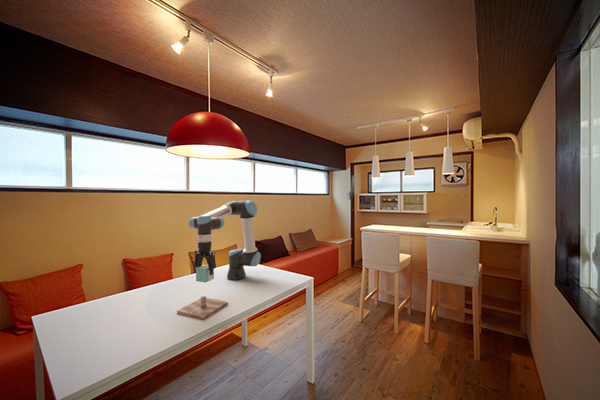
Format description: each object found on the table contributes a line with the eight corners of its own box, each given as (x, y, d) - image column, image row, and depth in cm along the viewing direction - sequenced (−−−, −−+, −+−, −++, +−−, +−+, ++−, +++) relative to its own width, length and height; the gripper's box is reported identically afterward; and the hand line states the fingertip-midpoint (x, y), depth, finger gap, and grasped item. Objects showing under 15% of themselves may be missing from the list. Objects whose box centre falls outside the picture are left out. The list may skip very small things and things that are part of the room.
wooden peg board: (203, 299, 155) (203, 288, 155) (228, 304, 148) (227, 293, 148) (176, 313, 137) (176, 301, 137) (203, 319, 129) (203, 307, 129)
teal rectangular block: (204, 277, 147) (204, 263, 147) (213, 278, 144) (213, 264, 144) (196, 281, 140) (195, 266, 140) (205, 282, 138) (205, 267, 138)
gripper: (187, 241, 142) (187, 279, 142) (213, 243, 135) (213, 283, 135) (196, 239, 149) (197, 275, 149) (222, 241, 142) (222, 279, 142)
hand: (205, 279), depth 142 cm, fingers closed on teal rectangular block, 7 cm apart
